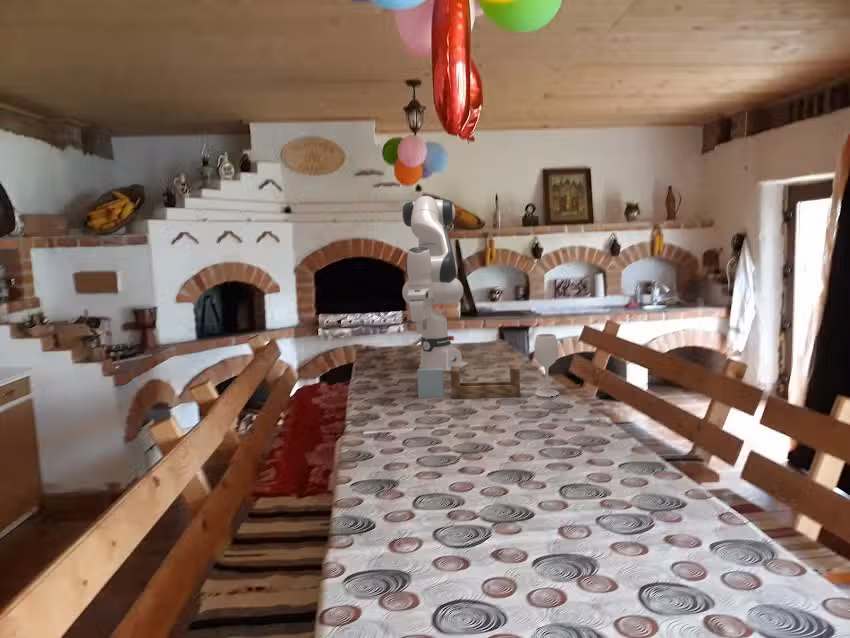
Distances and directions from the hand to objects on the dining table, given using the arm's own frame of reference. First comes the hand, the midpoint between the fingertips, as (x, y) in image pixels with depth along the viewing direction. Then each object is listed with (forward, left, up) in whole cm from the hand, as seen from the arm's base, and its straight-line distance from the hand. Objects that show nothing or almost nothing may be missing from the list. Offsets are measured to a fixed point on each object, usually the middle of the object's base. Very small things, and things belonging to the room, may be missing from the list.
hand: (422, 331), depth 234 cm
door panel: (0, +3, -23) cm, 24 cm away
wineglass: (-23, +37, -24) cm, 49 cm away
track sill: (-11, +19, -23) cm, 32 cm away
